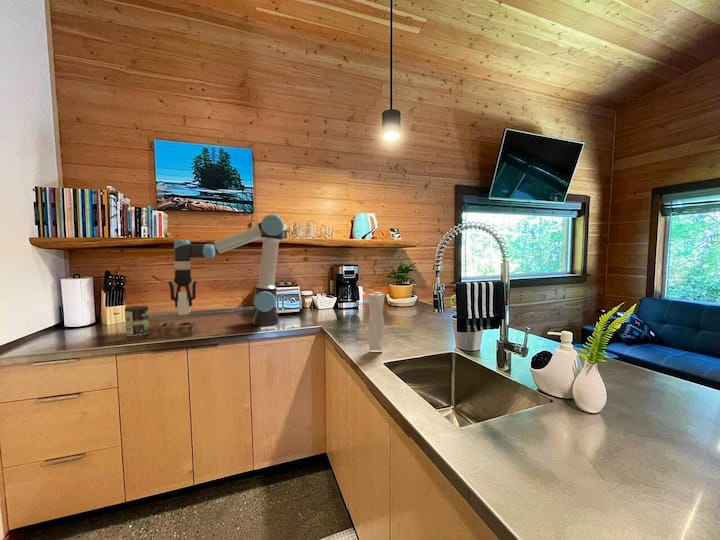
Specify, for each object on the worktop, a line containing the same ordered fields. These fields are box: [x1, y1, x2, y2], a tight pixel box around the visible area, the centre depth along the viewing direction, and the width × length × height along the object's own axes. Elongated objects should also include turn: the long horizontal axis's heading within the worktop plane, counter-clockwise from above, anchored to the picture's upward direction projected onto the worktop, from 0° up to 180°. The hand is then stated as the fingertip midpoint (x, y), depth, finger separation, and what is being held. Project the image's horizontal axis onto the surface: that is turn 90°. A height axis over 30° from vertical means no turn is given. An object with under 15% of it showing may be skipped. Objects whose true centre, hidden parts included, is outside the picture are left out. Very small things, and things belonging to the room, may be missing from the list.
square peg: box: [178, 290, 189, 316], centre depth 170 cm, size 4×4×12 cm
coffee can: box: [124, 305, 150, 337], centre depth 170 cm, size 10×10×14 cm
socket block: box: [147, 320, 199, 340], centre depth 170 cm, size 20×14×5 cm
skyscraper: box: [366, 288, 386, 351], centre depth 142 cm, size 8×8×28 cm
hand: (183, 312), depth 171 cm, fingers closed on square peg, 4 cm apart
